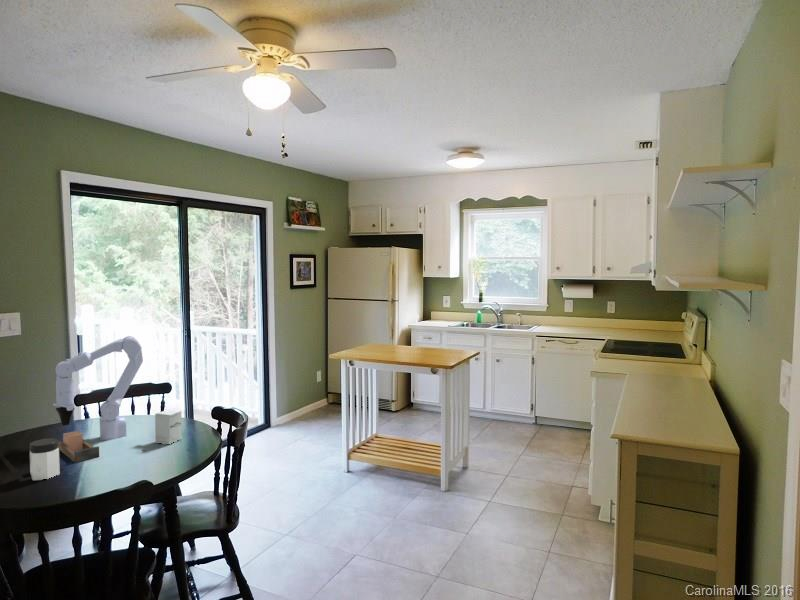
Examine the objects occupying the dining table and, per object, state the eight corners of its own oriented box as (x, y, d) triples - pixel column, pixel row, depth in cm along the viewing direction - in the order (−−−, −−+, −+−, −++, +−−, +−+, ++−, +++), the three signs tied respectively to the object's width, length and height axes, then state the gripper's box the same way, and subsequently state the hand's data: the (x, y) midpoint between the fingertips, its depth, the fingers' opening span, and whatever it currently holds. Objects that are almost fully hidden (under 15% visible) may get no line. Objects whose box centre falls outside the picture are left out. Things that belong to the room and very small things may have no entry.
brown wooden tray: (86, 444, 211) (85, 432, 210) (105, 458, 196) (104, 445, 196) (51, 452, 202) (51, 439, 201) (68, 467, 187) (68, 453, 187)
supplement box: (169, 445, 211) (168, 415, 210) (155, 443, 213) (154, 413, 213) (182, 439, 218) (181, 410, 217) (168, 437, 220) (167, 408, 220)
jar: (24, 481, 174) (23, 446, 173) (35, 472, 182) (34, 439, 181) (54, 479, 176) (53, 444, 175) (64, 470, 184) (63, 437, 183)
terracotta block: (77, 445, 207) (77, 430, 206) (82, 449, 203) (82, 434, 202) (63, 448, 203) (63, 433, 203) (68, 452, 199) (67, 437, 199)
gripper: (47, 390, 210) (48, 423, 210) (58, 396, 200) (59, 430, 201) (67, 387, 215) (68, 419, 215) (79, 393, 205) (79, 427, 206)
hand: (65, 424), depth 208 cm, fingers closed
